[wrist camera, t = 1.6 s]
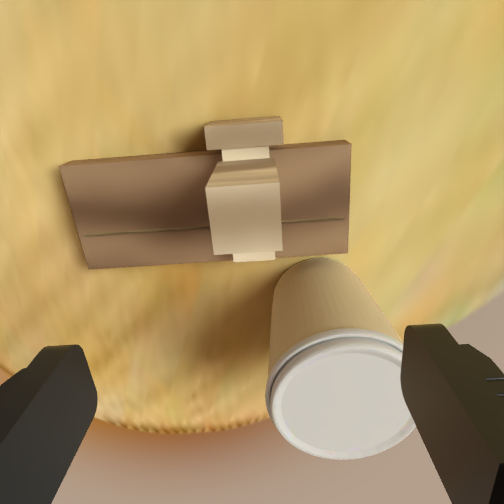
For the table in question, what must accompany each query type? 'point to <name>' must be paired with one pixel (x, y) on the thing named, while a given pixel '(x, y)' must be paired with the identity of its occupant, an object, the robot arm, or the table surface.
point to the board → (201, 204)
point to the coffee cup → (334, 365)
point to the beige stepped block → (245, 188)
